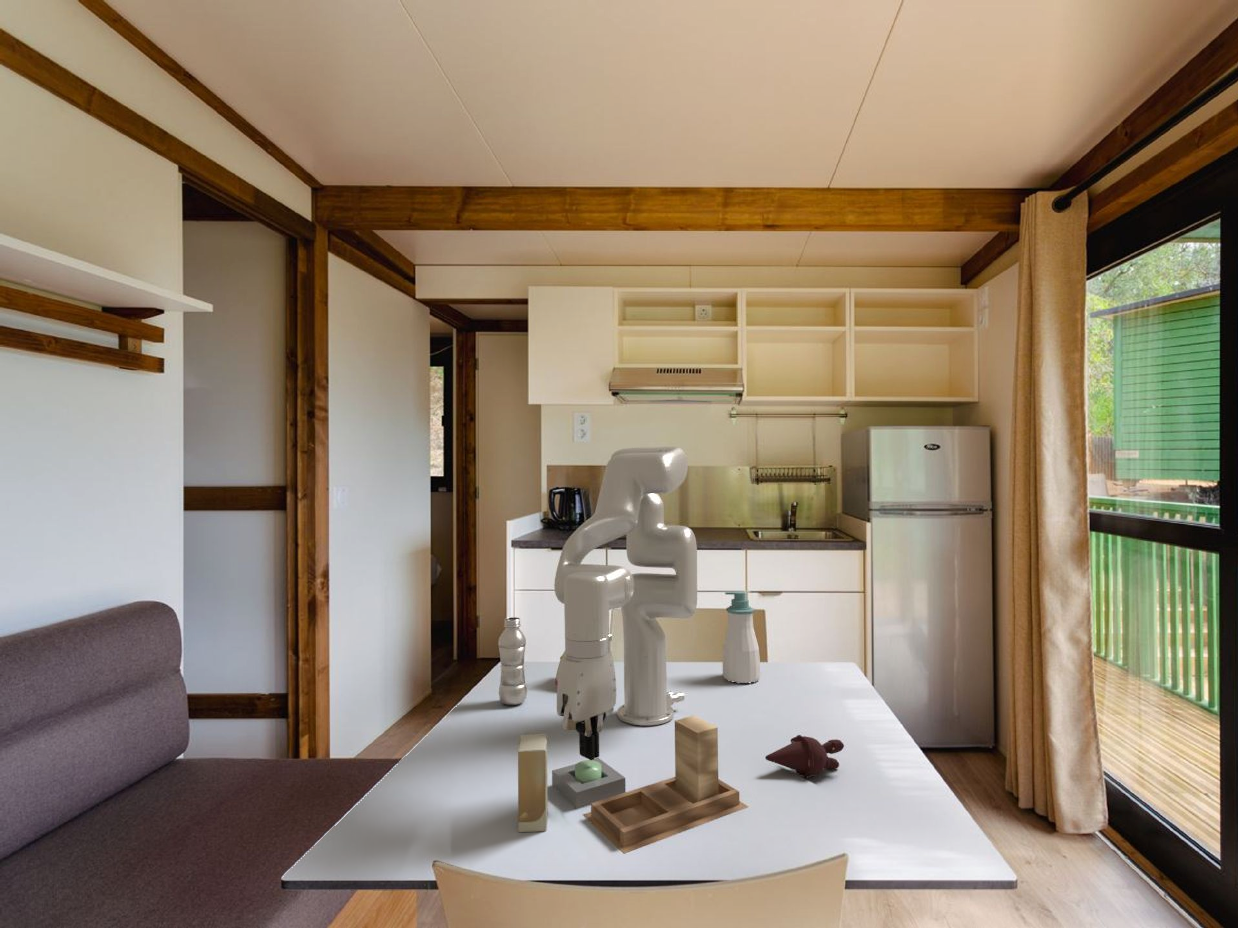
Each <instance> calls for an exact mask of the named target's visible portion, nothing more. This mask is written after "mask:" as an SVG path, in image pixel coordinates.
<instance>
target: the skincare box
mask: <svg viewBox="0 0 1238 928" xmlns="http://www.w3.org/2000/svg"><path fill="white" fill-rule="evenodd" d="M517 748H518V750H517V768H518V769H517V787H518V789H517V794H518V795H517V800H518V801H517V806H518V807H517V811H518V813H517V822H518V823H517V825H518V826H517V830H518V833H529V832H530V833H531V832H546V831H547V830H548V814H549V813H548V809H549V808H548V734H547V733H537V734H536V733H535V734H534V733H532V734H531V733H530V734H521V735H520V737H519V741H518V747H517Z"/></svg>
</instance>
